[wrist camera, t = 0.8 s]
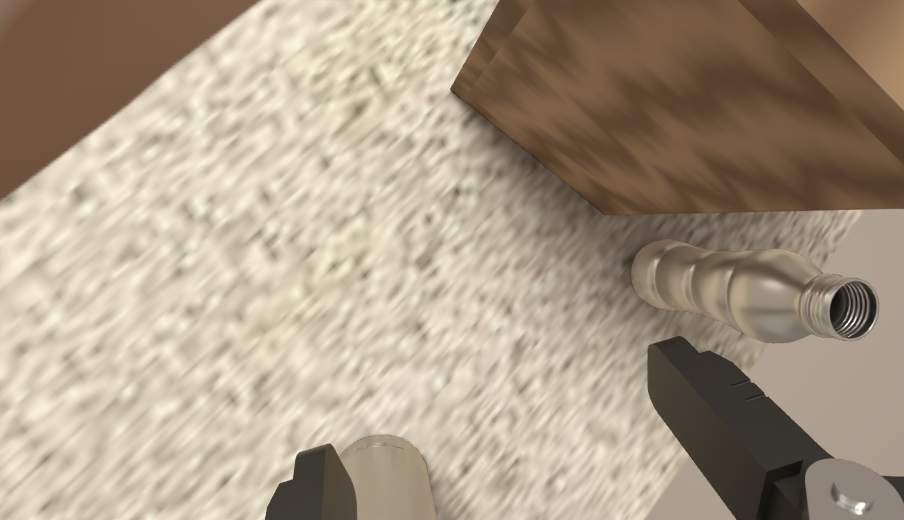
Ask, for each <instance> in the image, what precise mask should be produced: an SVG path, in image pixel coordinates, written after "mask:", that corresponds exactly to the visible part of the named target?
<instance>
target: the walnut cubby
mask: <svg viewBox="0 0 904 520" xmlns="http://www.w3.org/2000/svg"><path fill="white" fill-rule="evenodd" d="M450 90H452V91H453V92H454V93H455V94H457V95H458V96H459V97H460V98H462V99H463V100H464V101H465V102H466V103H468V104H469V105H470V106H471V107H473V108H474V109H475V110H476V111H478V112H479V113H480V114H481V115H482V116H484V117H485V118H486V119H487V120H489V121H490V122H491V123H492V124H494V125H495V126H496V127H497V128H499V129H500V130H501V131H502V132H503V133H505V134H506V135H507V136H508V137H510V138H511V139H512V140H513V141H515V142H516V143H517V144H518V145H520V146H521V147H522V148H523V149H524V150H526V151H527V152H528V153H529V154H531V155H532V156H533V157H534V158H536V159H537V160H538V161H539V162H541V163H542V164H543V165H544V166H545V167H547V168H548V169H549V170H550V171H552V172H553V173H554V174H555V175H557V176H558V177H559V178H560V179H562V180H563V181H564V182H565V183H566V184H568V185H569V186H570V187H571V188H573V189H574V190H575V191H576V192H578V193H579V194H580V195H581V196H582V197H584V198H585V199H586V200H587V201H589V202H590V203H591V204H592V205H594V206H595V207H596V208H597V209H599V210H600V211H601V212H602V213H603V214H605V215H634V214H679V213H724V212H769V211H814V210H860V209H902V208H903V209H904V0H499V2H498V4H497V6H496V8H495V9H494V11H493V13H492V15H491V17H490V18H489V20H488V22H487V24H486V26H485V27H484V29H483V31H482V33H481V35H480V36H479V38H478V40H477V42H476V43H475V45H474V47H473V49H472V51H471V52H470V54H469V56H468V58H467V60H466V61H465V63H464V65H463V67H462V69H461V70H460V72H459V74H458V76H457V78H456V79H455V81H454V83H453V85H452V86H451V88H450Z"/></svg>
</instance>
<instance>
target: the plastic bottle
mask: <svg viewBox="0 0 904 520" xmlns="http://www.w3.org/2000/svg"><path fill="white" fill-rule="evenodd" d="M631 281H632V285H633V287H634V290H635V291H636V293H637V294H638V296H639V297H640V298H641V299H643V300H644V301H646V302H647V303H649V304H650V305H652V306H654V307H656V308H659V309H664V310H673V311H681V310H682V311H687V312H693V313H698V314H702V315H705V316H708V317H710V318H712V319H715V320H718V321H720V322H723V323H725V324H727V325H728V326H730V327H732V328H734V329H736V330H738V331H740V332H742V333H744V334H746V335H748V336H750V337H752V338H755V339H757V340H759V341H762V342H765V343H789V342H793V341H796V340H799V339H801V338H804V337H806V336H808V335H811V334H813V335H816V336H819V337H823V338H835V339H839V340H843V341H855V340H859V339H861V338H863V337H864V336H866V335H867V334H868V333H869V332H870V331H871V330H872V328H873V327H874V325H875V323H876V321H877V318H878V314H879V300H878V296H877V293H876V291H875V290H874V288H873V287H872V286H871V285H870V284H869V283H868V282H866V281H864V280H861V279H858V278H848V277H843V276H841V275H836V274H823V273H822V272H821V271H820V269H818V268H817V267H816V266H815V265H814V264H813V263H812V262H811V261H809V260H808V259H807V258H805V257H803V256H801V255H798V254H796V253H794V252H791V251H789V250H784V249H763V250H751V251H739V252H735V251H712V250H708V249H703V248H699V247H694V246H692V245H690V244H687V243H684V242H681V241H678V240H672V239H665V240H659V241H654V242H651V243H649V244H647V245H645V246H644V247H643V248H642V249H641V250H640V251H639V252H638V253H637V255H636V256H635V258H634V260H633V264H632V267H631Z"/></svg>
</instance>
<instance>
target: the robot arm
mask: <svg viewBox="0 0 904 520" xmlns="http://www.w3.org/2000/svg"><path fill="white" fill-rule="evenodd" d="M648 392H649V396H650V399H651V401H652V404H653V406H654V408H655V409H656V411H657V412H658V414H659V415H660V416H661V418H662V419H663V421H664V422H665V423H666V425H667V426H668V427H669V429H670V430H671V431H672V433H673V434H674V435H675V437H676V438H677V440H678V441H679V442H680V444H681V445H682V446H683V448H684V449H685V450H686V452H687V453H688V454H689V456H690V457H691V458H692V460H693V461H694V463H695V464H696V465H697V467H698V468H699V469H700V471H701V472H702V473H703V475H704V476H705V477H706V479H707V480H708V482H709V483H710V484H711V486H712V487H713V488H714V490H715V491H716V492H717V494H718V495H719V496H720V498H721V499H722V500H723V502H724V503H725V505H726V506H727V507H728V509H729V510H730V511H731V513H732V514H733V515H734V517H735V518H736V519H737V520H904V477H892V476H880V475H879V474H877V473H876V472H874V471H873V470H871V469H869V468H867V467H865V466H863V465H860V464H858V463H855V462H852V461H848V460H843V459H835V458H834V457H832V456H831V455H830V454H828V453H827V452H826V451H825V450H824V449H823V448H821V447H820V446H819V445H818V444H817V443H816V442H815V441H814V440H813V439H812V438H811V437H810V436H809V435H808V434H807V433H806V432H805V431H804V430H802V428H801V427H799V426H798V425H797V424H796V423H795V422H794V421H793V420H792V419H791V418H790V417H789V416H788V415H787V414H786V413H785V412H784V411H783V410H782V409H781V408H780V407H778V405H776V404H775V403H774V402H773V401H772V400H771V399H770V398H769V397H766V396H765V394H764V392H763V391H762V390H761V389H760V388H759V387H758V386H757V385H756V384H754V383H751V381H750V379H749V378H748V377H747V376H746V375H745V374H744V373H743V372H742V371H741V370H740V369H739V368H738V367H737V366H736V365H735V364H734V363H733V362H731V361H729V360H727V359H725V358H723V357H721V356H719V355H717V354H715V353H713V352H711V351H706V352H703V353H699V352H698V351H697V350H696V349H695V348H694V347H693V346H692V345H691V344H690V343H689V342H688V341H687V340H686V339H684V338H683V337H681V336H677V337H674V338H671V339H667V340H664V341H661V342H658V343H654V344H651V345H649V347H648ZM265 520H437V516H436V511H435V506H434V501H433V496H432V490H431V486H430V481H429V476H428V472H427V467H426V463H425V461H424V459H423V457H422V455H421V454H420V453H419V451H418V450H417V449H416V448H415V447H414V446H413V445H412V444H410V443H409V442H408V441H405V440H403V439H401V438H399V437H395V436H391V435H374V436H368V437H366V438H363V439H360V440H358V441H356V442H355V443H353V444H352V445H350V446H349V447H348V448H347V449H345V450H344V451H343V452H342V453H341V455H340V456H338V454H337V453H336V451H335V449H334V447H333V446H332V445H331V444H326V445H322V446H319V447H316V448H312V449H309V450H306V451H302V452H299V453H298V454H297V456H296V460H295V467H294V475H293V480H289V481H286V482H283V483H280V484H279V485H278V487H277V489H276V491H275V493H274V495H273V497H272V499H271V501H270V503H269V505H268V507H267V511H266V517H265Z"/></svg>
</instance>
